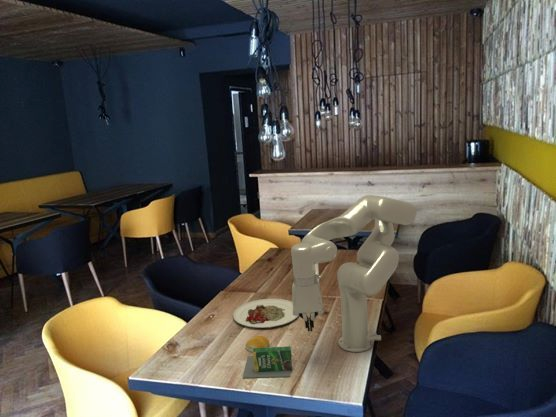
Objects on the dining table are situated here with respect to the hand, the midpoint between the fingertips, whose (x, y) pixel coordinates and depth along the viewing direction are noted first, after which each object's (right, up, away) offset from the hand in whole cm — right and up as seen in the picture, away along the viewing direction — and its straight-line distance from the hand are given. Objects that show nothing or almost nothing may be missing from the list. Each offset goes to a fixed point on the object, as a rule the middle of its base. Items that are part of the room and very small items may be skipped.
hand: (309, 329), depth 153 cm
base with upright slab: (+6, +2, +80) cm, 81 cm away
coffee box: (-6, -9, -2) cm, 11 cm away
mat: (-15, -14, +2) cm, 20 cm away
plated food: (-16, -6, +44) cm, 48 cm away
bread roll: (-19, -12, +16) cm, 27 cm away
